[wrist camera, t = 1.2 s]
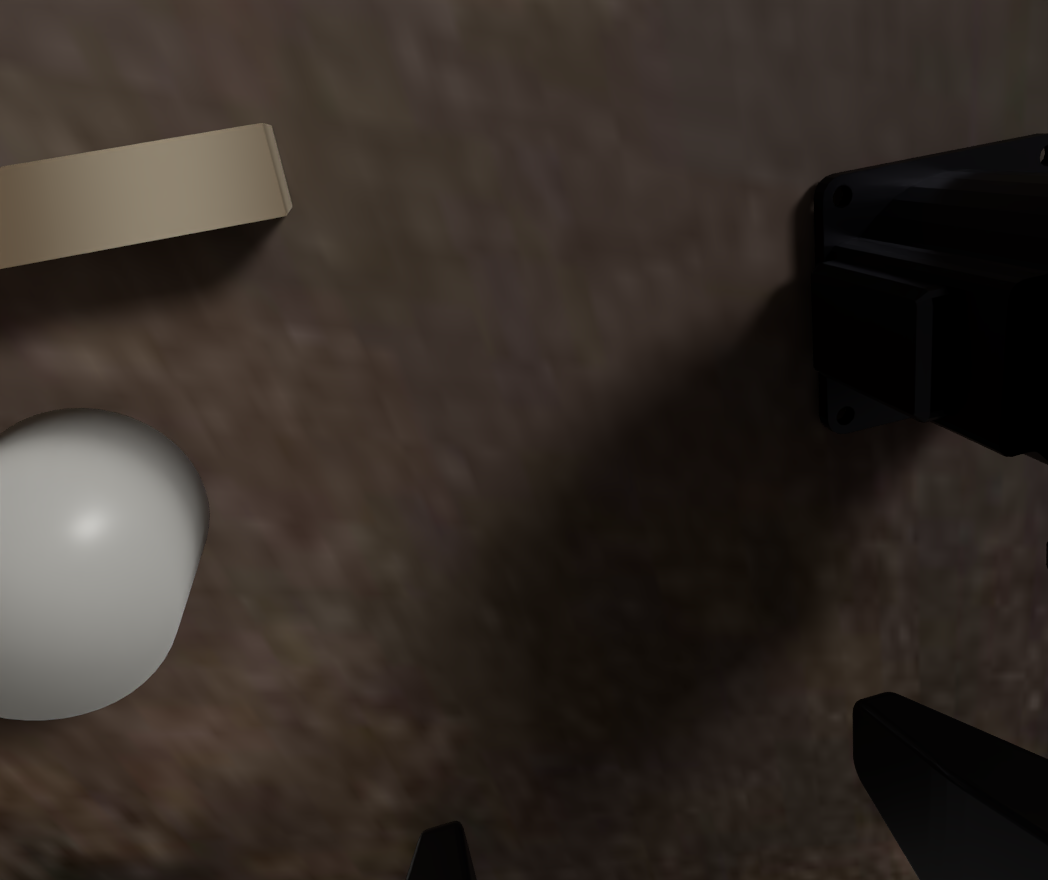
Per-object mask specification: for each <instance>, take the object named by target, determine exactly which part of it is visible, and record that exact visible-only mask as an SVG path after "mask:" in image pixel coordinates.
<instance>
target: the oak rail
mask: <svg viewBox="0 0 1048 880" xmlns="http://www.w3.org/2000/svg"><path fill="white" fill-rule="evenodd" d="M292 207H293V206H292V202H291V198H290V194H289V191H288V187H287V183H286V179H285V175H284V171H283V167H282V164H281V160H280V156H279V152H278V148H277V144H276V140H275V136H274V133H273V129H272V125H268V124H264V123H259V124H253V125H247V126H241V127H235V128H229V129H223V130H217V131H211V132H205V133H200V134H194V135H188V136H182V137H176V138H170V139H164V140H158V141H152V142H146V143H140V144H134V145H128V146H122V147H116V148H110V149H104V150H99V151H93V152H87V153H81V154H75V155H69V156H63V157H57V158H51V159H45V160H39V161H33V162H27V163H21V164H15V165H9V166H4V167H0V269H3V268H8V267H14V266H19V265H25V264H30V263H35V262H41V261H46V260H52V259H57V258H62V257H68V256H73V255H79V254H84V253H89V252H95V251H100V250H106V249H111V248H116V247H122V246H127V245H133V244H138V243H143V242H149V241H154V240H160V239H165V238H170V237H176V236H181V235H187V234H192V233H197V232H203V231H208V230H214V229H219V228H224V227H230V226H235V225H241V224H246V223H251V222H257V221H262V220H268V219H273V218H278V217H284V216H287V214H288V213H289V211H290V210H291V208H292Z"/></svg>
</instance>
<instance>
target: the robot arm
mask: <svg viewBox="0 0 1048 880" xmlns="http://www.w3.org/2000/svg"><path fill="white" fill-rule="evenodd" d="M1043 148H1044V149H1045V155H1044V159H1043V160H1042V161H1041V163H1040V154H1041V151H1042V150H1043ZM838 187H841V188H842V192H843V196H842V200H841V201H840V202H839V204H838V205H836V206H835V205H834V203H833V199H832V198H833V194H834V192H835V190H836V189H837V188H838ZM814 231H815V268H814V270H813V272H812V274H811V292H812V327H813V361H814V368H815V369H816V370H817V371H818V379H819V415H820V420H821V422H822V424H823V425H824V426H825V427H827V428H828V429H830V430H832V431H834V432H836V433H838V434H846V433H850V432H854V431H858V430H862V429H867V428H871V427H875V426H879V425H883V424H887V423H891V422H895V421H899V420H903V419H907V418H913V419H915V420H917V421H919V422H928V421H931V422H933V423H935V424H937V425H939V426H941V427H944V428H946V429H948V430H950V431H952V432H954V433H956V434H958V435H961V436H963V437H965V438H967V439H969V440H971V441H973V442H976V443H978V444H980V445H982V446H984V447H986V448H988V449H991V450H993V451H995V452H997V453H999V454H1001V455H1003V456H1006V457H1013V456H1017V455H1020V454H1025V455H1027V456H1029V457H1032V458H1034V459H1036V460H1038V461H1040V462H1043V463H1045V464H1047V465H1048V133H1046V134H1033V135H1028V136H1023V137H1018V138H1012V139H1007V140H1002V141H997V142H992V143H987V144H982V145H977V146H972V147H967V148H962V149H956V150H951V151H946V152H941V153H936V154H931V155H926V156H921V157H916V158H911V159H906V160H900V161H895V162H890V163H885V164H880V165H875V166H870V167H865V168H860V169H855V170H850V171H844V172H839V173H834V174H831V175H829V176H826V177H825V178H824V179H823V180H822V181H820V182H819V184H818V186H817V188H816V190H815V194H814ZM843 407H845V408H846V411H845V414H844V415H843V417H842V418H840V419H838V420H837V414H838V412H839V411H840V409H841V408H843ZM1046 565H1047V568H1048V542H1047V549H1046ZM853 759H854V765H855V769H856V772H857V774H858V776H859V779H860V781H861V782H862V784H863V786H864V788H865V789H866V791H867V793H868V794H869V796H870V798H871V799H872V801H873V803H874V804H875V806H876V808H877V809H878V811H879V813H880V814H881V816H882V818H883V819H884V821H885V823H886V824H887V826H888V828H889V829H890V831H891V833H892V834H893V836H894V838H895V839H896V841H897V843H898V844H899V846H900V848H901V849H902V851H903V853H904V854H905V856H906V858H907V859H908V861H909V863H910V865H911V866H912V868H913V870H914V871H915V873H916V875H917V876H918V878H919V880H1048V759H1046V758H1044V757H1042V756H1039V755H1037V754H1035V753H1032V752H1030V751H1028V750H1025V749H1023V748H1021V747H1019V746H1016V745H1014V744H1012V743H1009V742H1007V741H1005V740H1002V739H1000V738H998V737H996V736H993V735H991V734H989V733H986V732H984V731H982V730H979V729H977V728H975V727H973V726H970V725H968V724H966V723H963V722H961V721H959V720H956V719H954V718H952V717H950V716H947V715H945V714H943V713H940V712H938V711H936V710H933V709H931V708H929V707H927V706H924V705H922V704H920V703H917V702H915V701H913V700H910V699H908V698H906V697H904V696H901V695H899V694H896V693H892V692H884V693H881V694H877V695H874V696H870V697H867V698H864V699H860V700H859V701H857V702H856V703H855V705H854V707H853ZM406 880H477V879H476V875H475V871H474V868H473V864H472V860H471V856H470V852H469V848H468V844H467V840H466V836H465V832H464V828H463V826H462V824H461V823H460V822H458V821H452V822H449V823H446V824H442V825H439V826H436V827H432V828H429V829H426V830H424V831H423V832H422V833H421V835H420V837H419V840H418V843H417V846H416V849H415V852H414V855H413V858H412V861H411V864H410V868H409V871H408V874H407V877H406Z"/></svg>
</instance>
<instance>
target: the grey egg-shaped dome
mask: <svg viewBox="0 0 1048 880" xmlns="http://www.w3.org/2000/svg"><path fill="white" fill-rule="evenodd" d="M209 520H210V511H209V502H208V497H207V494H206V490H205V487H204V484H203V482H202V480H201V477H200V475H199V473H198V472H197V470H196V468H195V467H194V465H193V463H192V462H191V461H190V460H189V458H188V457H187V456H186V455H185V453H184V452H183V451H182V450H181V449H180V448H179V447H178V446H177V445H176V444H175V443H174V442H173V441H171V440H170V439H169V438H167V437H166V436H165V435H163V434H162V433H161V432H159V431H157V430H156V429H154V428H152V427H151V426H149V425H147V424H145V423H143V422H141V421H138V420H136V419H134V418H132V417H128V416H125V415H122V414H119V413H116V412H111V411H105V410H100V409H89V408H68V409H60V410H53V411H48V412H45V413H41V414H37V415H34V416H32V417H29V418H27V419H24V420H22V421H20V422H18V423H16V424H15V425H13V426H11V427H9V428H8V429H6V430H5V431H4V432H2V433H1V434H0V717H1V718H6V719H16V720H54V719H63V718H68V717H73V716H78V715H83V714H86V713H89V712H92V711H95V710H98V709H101V708H103V707H105V706H108V705H110V704H112V703H114V702H116V701H118V700H120V699H121V698H123V697H125V696H127V695H128V694H130V693H131V692H133V691H134V690H135V689H137V688H138V687H139V686H140V685H142V684H143V683H144V682H145V681H146V680H147V679H148V678H149V677H150V676H151V675H152V674H153V673H154V672H155V671H156V670H157V668H158V667H159V666H160V665H161V663H162V662H163V661H164V659H165V657H166V656H167V654H168V652H169V650H170V648H171V647H172V644H173V642H174V639H175V636H176V633H177V631H178V628H179V624H180V621H181V618H182V615H183V612H184V609H185V606H186V602H187V599H188V596H189V593H190V590H191V587H192V584H193V580H194V577H195V574H196V571H197V568H198V565H199V562H200V559H201V555H202V552H203V549H204V546H205V543H206V540H207V535H208V530H209Z"/></svg>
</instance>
